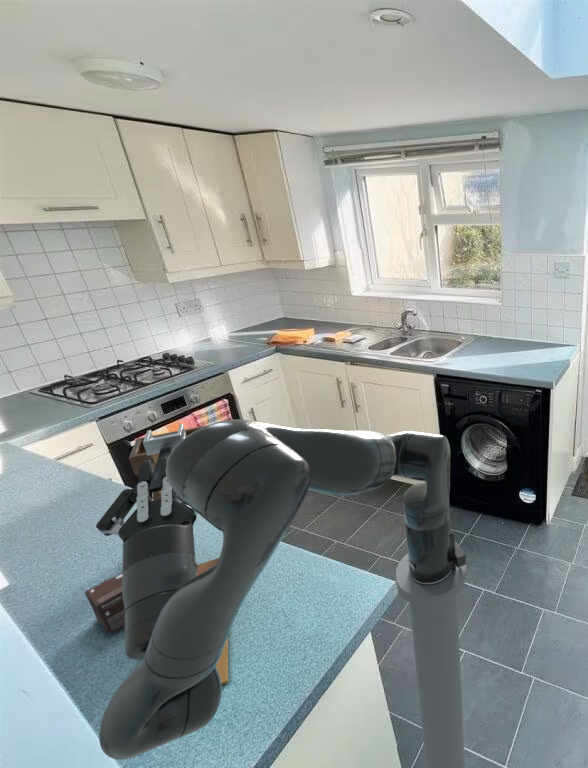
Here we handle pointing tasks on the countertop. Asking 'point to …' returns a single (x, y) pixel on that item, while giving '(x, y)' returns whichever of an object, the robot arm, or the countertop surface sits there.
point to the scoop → (161, 452)
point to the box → (108, 603)
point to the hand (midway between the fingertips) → (156, 462)
